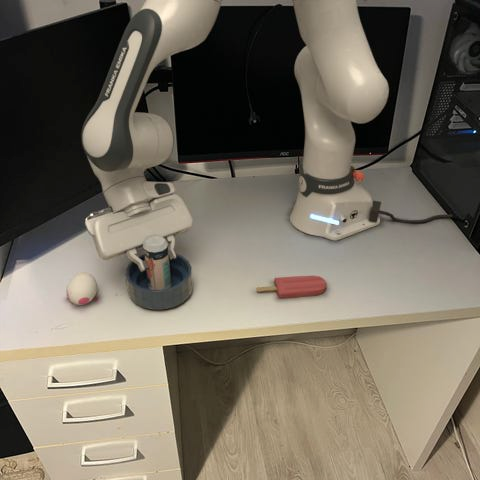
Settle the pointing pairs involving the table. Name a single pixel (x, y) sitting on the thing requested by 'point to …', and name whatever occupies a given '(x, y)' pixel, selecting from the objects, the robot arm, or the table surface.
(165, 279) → the white capped supplement bottle
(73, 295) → the stress ball
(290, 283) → the popsicle
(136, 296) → the bowl
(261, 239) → the table surface
